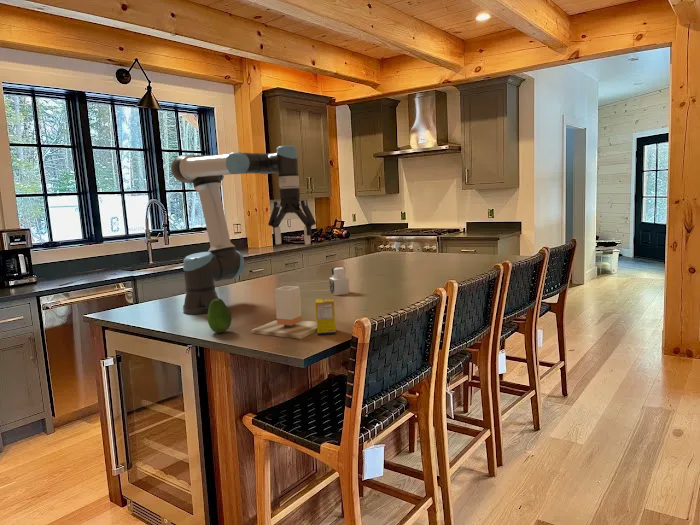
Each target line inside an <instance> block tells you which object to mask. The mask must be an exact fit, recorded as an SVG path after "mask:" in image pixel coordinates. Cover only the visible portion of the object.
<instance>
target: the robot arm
mask: <svg viewBox="0 0 700 525" xmlns="http://www.w3.org/2000/svg"><path fill="white" fill-rule="evenodd" d="M298 158H299V157H298V149H297V147H296V146H295V145H279V146H277V147H276V152H270V153H269V152H268V153H263V152H262V153H261V152H258V153H257V152H241V151H237V152H230V153H225V154H218V155H216V154H215V155H210V154H204V155H203V154H200V155H199V154H198V155H197V154H182V155H179V156H177V157H175V158H174V159H173V160H172V162H171V164H170V169H171V170H170V171H171V174H172V176H173V177H174V179H176V180H177V181H178V182H180V183H185V184H192V185H193V190H194V191H196V192H198V195H199V200H200V206H201V210H202V213H203V214H202V215H203V217H204V222H205V223H204V224H205V228H206V231H207V237H208V241H209V245H210V248H209V249H208V251H200V252H196V253H192V254H189V255H186V256H185V257H184V259H183V267H182V270H183V272H184V273H183V276H184V283H185V298H184V304H183V307H182V310H183V311H182V312H183V313H184V314H187V315H200V314H202V315H203V314H208V310H209V305H210V303H211V301H212V300H213V299H216V298H219V296H218V294H217V290H216V283H217V282H222V281H226V280H233V279H234V278H238V277H240V275H242V274H243V271H244V268H245V259H244V256H243V254H242V253H241V252H240V251H238V250H237V249H236V246H235V245H234V244H233V243H232V241H231V239H230V233H229V229H228V228H229V227H228V225H227V220H226V215H225V210H224V206H223V200H222V197H221V192H220V187H221V186H222V181H223V180H224V178H225V176H227V175H228V176H229V175H230V176H231V175H245V174H246V175H247V174H248V175H249V174H258V175H268V174H274V173H275V174H276V173H277V174H278V187H279V198H280V201H279V200H278V201H277V200H275V201H274V202H273V208H272V212H271V213H270V218H269V221H268V223H267V224H268V226H270V227H272V230H273V231H272V232H273V233H272V234H273V236H274V239H275V241H274V242H275V245H281V244H282V232H281V226H280V224H281V222H282V221H283V219H284V218H285V216H286V215H287V214H289V213H290V214H296V216H297V217H298V218H299V219H300V220H301V222H302V223H303V224H304V227H303V233H304V245H307V246H308V245H311V241H312V240H311V236H312V234H313V232H312V226H315V225H316V224H317V222H316V220H315V218H314V216H313V214H312V212H311V209H310V208H309V206H308V201H307V200H306V199H303V200H302V199H301V200H300V197H301V194H300V193H301V192H300V177H299V167H298V166H299V159H298ZM280 208H281V209H280Z"/></svg>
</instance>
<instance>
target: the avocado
mask: <svg viewBox="0 0 700 525" xmlns="http://www.w3.org/2000/svg"><path fill="white" fill-rule="evenodd" d="M206 317H207V324H208V326H209V329H211V331H212V332H214V333H216V334H221V333H225V332H226V331H228V330H229V328H230V327H231V324H232V313H231V312H230V309H229V308H228V307H227V304H226V303H225V302H224V301H223V299H221V298H219V297H218V298H216V299H213V300H212V301H211V303H210V305H209V310H208V313H207V316H206Z"/></svg>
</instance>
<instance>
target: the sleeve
mask: <svg viewBox="0 0 700 525" xmlns="http://www.w3.org/2000/svg"><path fill="white" fill-rule="evenodd" d="M300 288H301V287H300V286H296V285H295V286H293V285H284V286H280V287H276V288H275V289H274V297H275V299H274V300H275V312H276V313H275V314H276V319H277V318H278V319H289V320H292V319H294V318H297V317H299V316H302V302H301V299H302V298H301V289H300Z"/></svg>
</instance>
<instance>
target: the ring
mask: <svg viewBox="0 0 700 525" xmlns="http://www.w3.org/2000/svg"><path fill="white" fill-rule="evenodd" d="M302 318H303V317H302V316H299V317H297V318H294V319H292V320H289V319H278V318H277V317H276V320H277V324H281V325H291V326H292V325H294V324H297V323H299V322H301V321H303V320H302Z"/></svg>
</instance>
